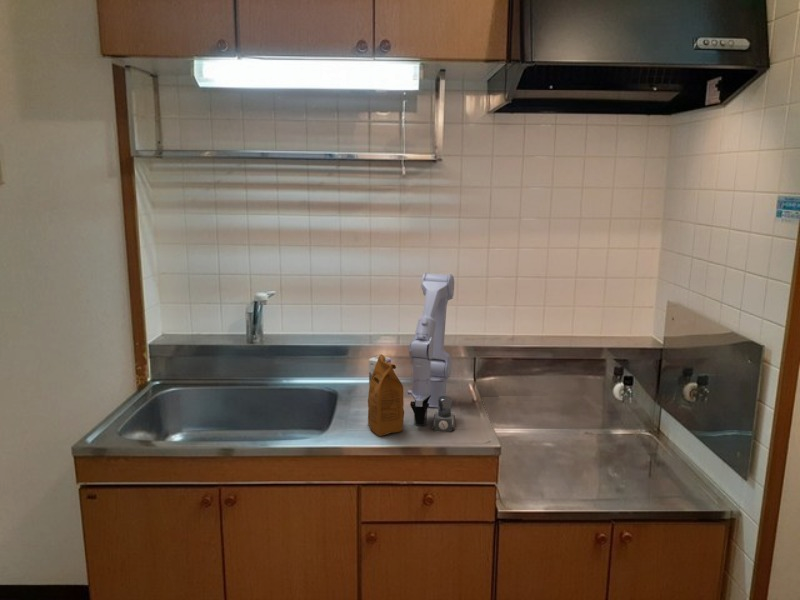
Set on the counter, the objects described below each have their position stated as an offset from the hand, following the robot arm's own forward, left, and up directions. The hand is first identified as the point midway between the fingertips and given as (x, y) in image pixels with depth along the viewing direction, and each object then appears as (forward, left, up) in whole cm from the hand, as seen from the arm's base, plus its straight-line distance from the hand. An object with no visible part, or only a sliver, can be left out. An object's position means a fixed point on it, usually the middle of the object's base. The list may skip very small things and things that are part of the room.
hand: (420, 419), depth 181 cm
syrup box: (-20, -16, -2) cm, 25 cm away
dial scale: (-1, +7, -1) cm, 7 cm away
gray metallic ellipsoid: (-4, +7, 0) cm, 8 cm away
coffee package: (+4, -10, -2) cm, 11 cm away
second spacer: (0, 0, -1) cm, 1 cm away
